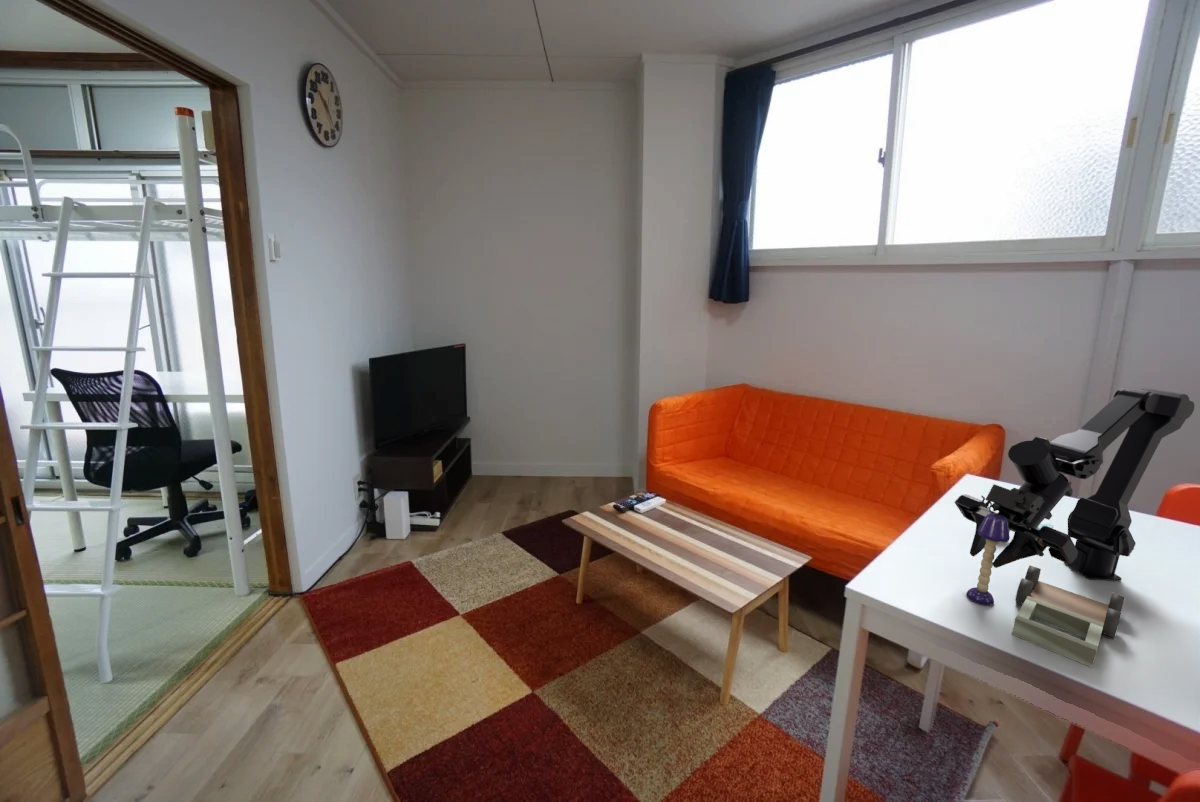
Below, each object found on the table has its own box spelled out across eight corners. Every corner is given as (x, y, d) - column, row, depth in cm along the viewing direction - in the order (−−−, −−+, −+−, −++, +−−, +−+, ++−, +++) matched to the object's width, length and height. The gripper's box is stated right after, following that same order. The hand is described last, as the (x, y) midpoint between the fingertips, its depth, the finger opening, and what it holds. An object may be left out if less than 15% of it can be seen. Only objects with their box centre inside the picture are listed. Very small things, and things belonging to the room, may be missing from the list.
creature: (976, 521, 132) (1011, 518, 130) (974, 502, 131) (1010, 498, 129) (961, 508, 139) (994, 505, 137) (959, 490, 138) (993, 486, 136)
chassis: (1026, 582, 102) (1031, 562, 101) (1119, 614, 93) (1125, 592, 92) (999, 629, 88) (1005, 606, 87) (1106, 673, 78) (1113, 648, 77)
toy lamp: (958, 590, 99) (975, 510, 95) (980, 590, 99) (998, 510, 95) (978, 606, 94) (996, 522, 90) (1001, 605, 94) (1021, 522, 91)
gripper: (970, 454, 101) (918, 513, 100) (1083, 491, 84) (1022, 563, 83) (990, 488, 105) (941, 545, 104) (1102, 529, 88) (1044, 598, 87)
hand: (982, 560), depth 94 cm, fingers closed on toy lamp, 4 cm apart
